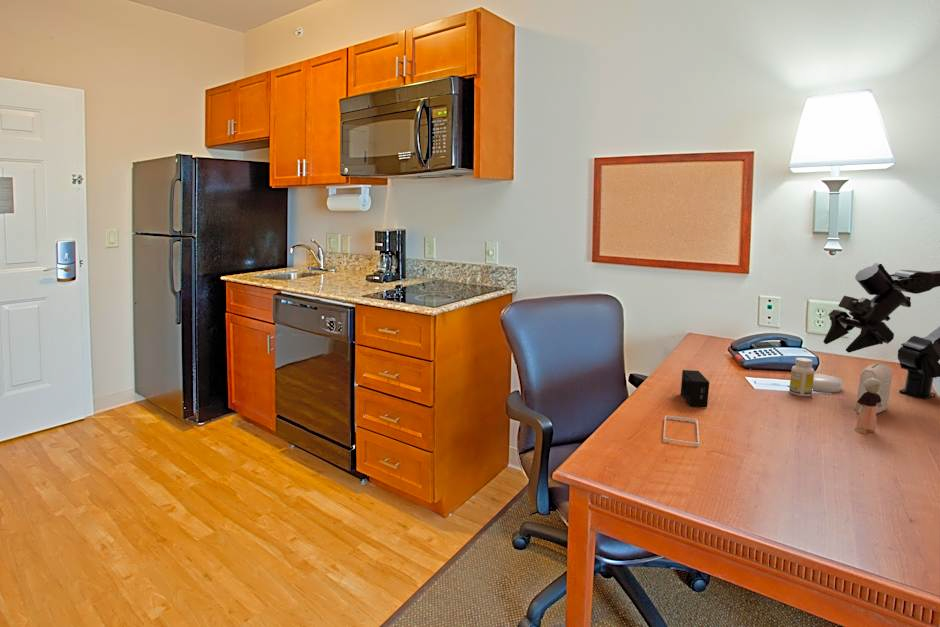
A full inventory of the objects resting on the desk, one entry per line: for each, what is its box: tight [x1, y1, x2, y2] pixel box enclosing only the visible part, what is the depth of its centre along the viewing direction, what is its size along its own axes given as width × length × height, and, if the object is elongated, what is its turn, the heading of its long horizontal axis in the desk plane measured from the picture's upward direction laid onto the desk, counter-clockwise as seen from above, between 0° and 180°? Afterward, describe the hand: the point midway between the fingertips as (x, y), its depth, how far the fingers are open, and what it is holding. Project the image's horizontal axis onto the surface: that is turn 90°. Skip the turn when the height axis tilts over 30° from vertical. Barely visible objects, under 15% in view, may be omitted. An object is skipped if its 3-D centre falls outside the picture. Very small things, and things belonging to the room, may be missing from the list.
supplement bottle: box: [789, 357, 815, 397], centre depth 155 cm, size 5×5×10 cm
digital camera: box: [680, 369, 710, 408], centre depth 149 cm, size 10×5×7 cm, turn 173°
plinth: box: [812, 372, 843, 393], centre depth 162 cm, size 10×10×2 cm
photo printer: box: [855, 362, 894, 414], centre depth 142 cm, size 10×4×12 cm, turn 123°
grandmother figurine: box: [853, 378, 882, 435], centre depth 129 cm, size 8×4×13 cm, turn 118°
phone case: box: [662, 415, 700, 447], centre depth 129 cm, size 7×1×15 cm
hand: (835, 347), depth 154 cm, fingers open, 9 cm apart
